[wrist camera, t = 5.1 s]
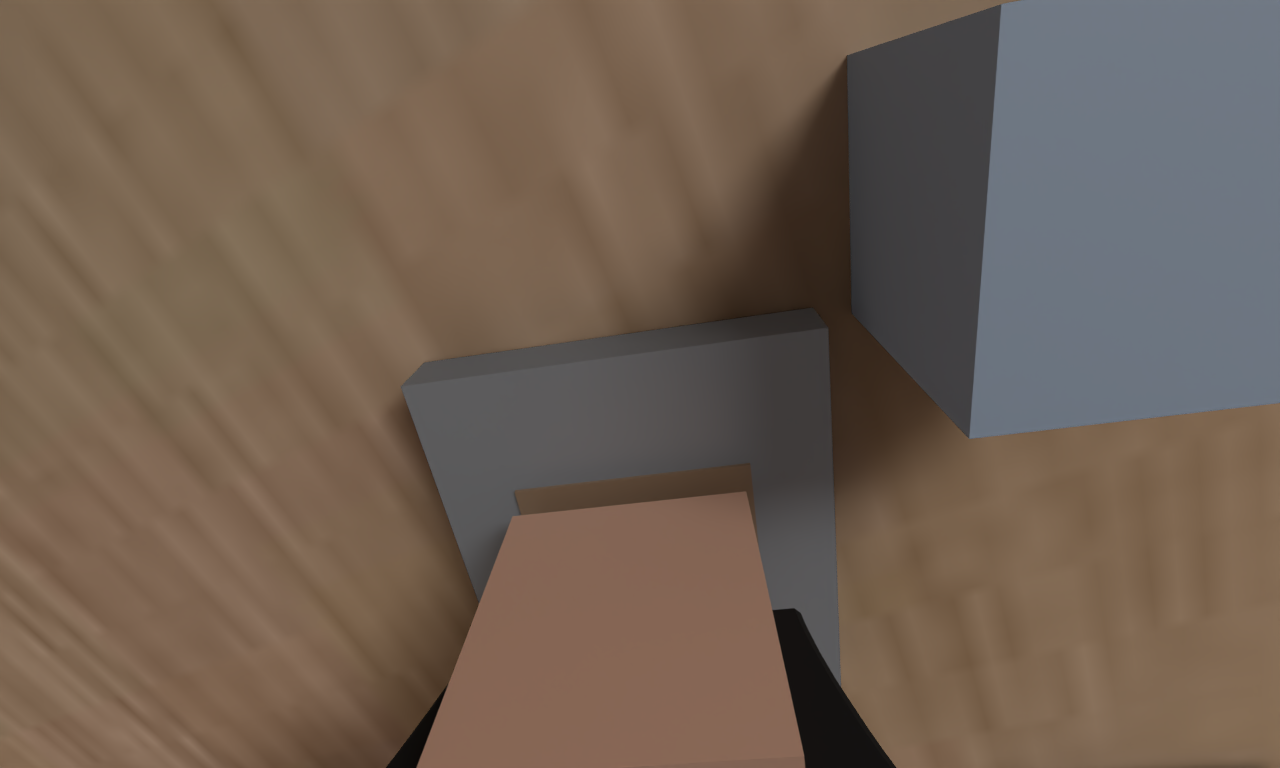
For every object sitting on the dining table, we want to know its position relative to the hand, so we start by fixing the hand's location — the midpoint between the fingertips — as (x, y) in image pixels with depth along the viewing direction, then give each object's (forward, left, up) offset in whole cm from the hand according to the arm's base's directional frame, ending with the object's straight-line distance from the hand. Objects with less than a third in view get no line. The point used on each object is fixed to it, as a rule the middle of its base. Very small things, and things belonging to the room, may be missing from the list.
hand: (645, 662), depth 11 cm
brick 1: (0, 0, -2) cm, 2 cm away
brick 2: (+7, -7, -4) cm, 11 cm away
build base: (0, 0, -4) cm, 4 cm away
